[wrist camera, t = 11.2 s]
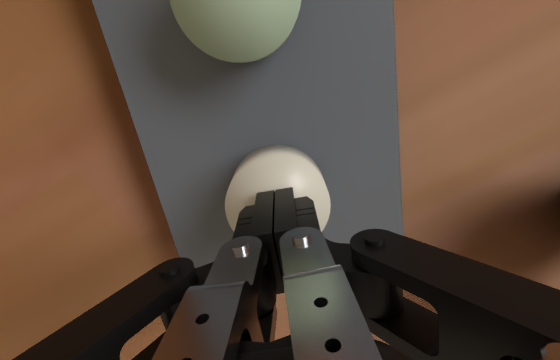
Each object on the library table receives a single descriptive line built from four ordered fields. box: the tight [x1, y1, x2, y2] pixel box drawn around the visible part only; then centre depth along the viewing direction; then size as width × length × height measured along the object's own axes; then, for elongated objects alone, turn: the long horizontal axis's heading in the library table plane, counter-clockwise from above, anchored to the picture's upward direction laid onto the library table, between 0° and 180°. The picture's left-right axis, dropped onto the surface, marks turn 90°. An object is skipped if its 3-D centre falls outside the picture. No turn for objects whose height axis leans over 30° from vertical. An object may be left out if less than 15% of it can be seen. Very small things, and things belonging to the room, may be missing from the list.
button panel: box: [92, 0, 403, 268], centre depth 14 cm, size 26×12×2 cm, turn 10°
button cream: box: [225, 145, 331, 232], centre depth 14 cm, size 4×4×2 cm
